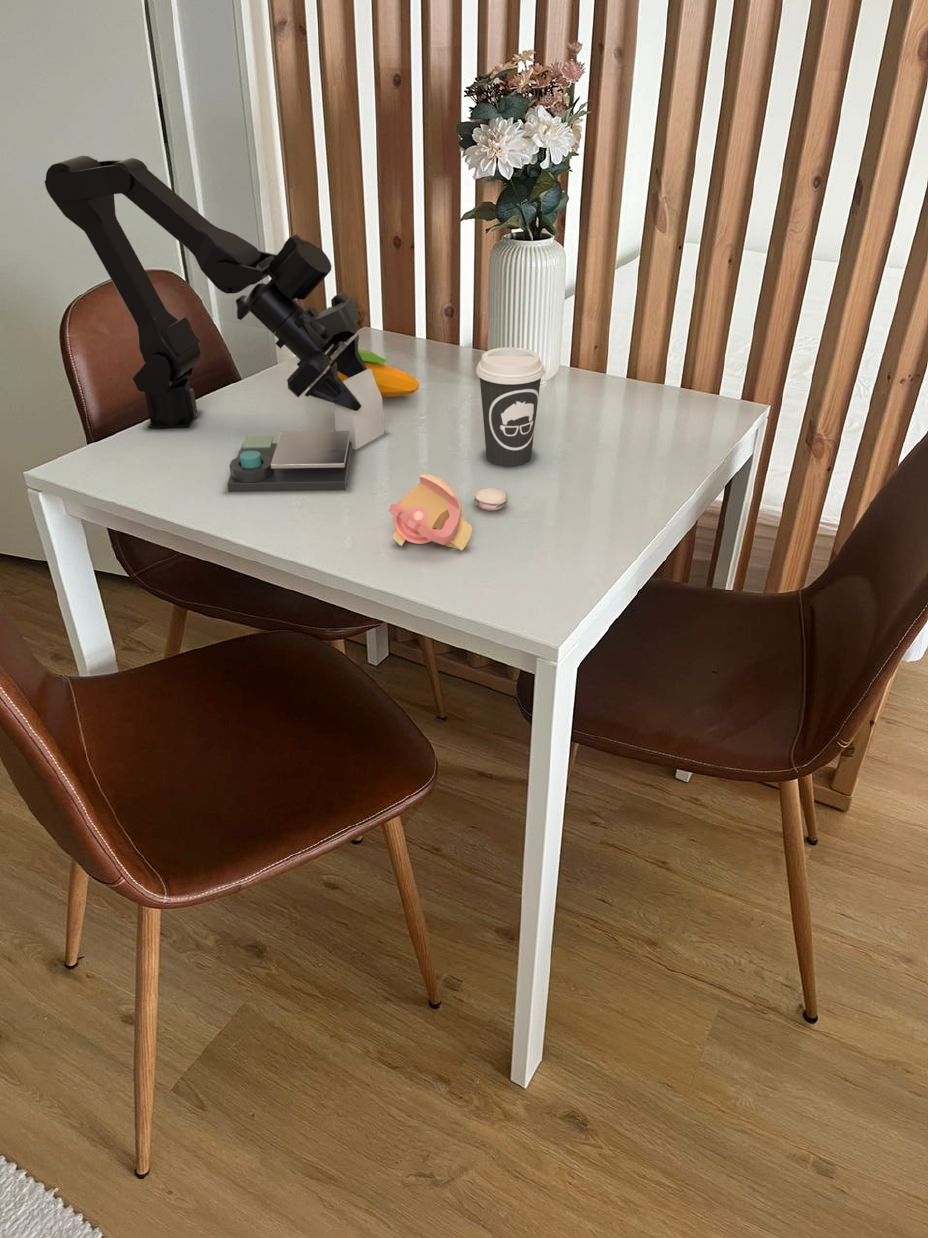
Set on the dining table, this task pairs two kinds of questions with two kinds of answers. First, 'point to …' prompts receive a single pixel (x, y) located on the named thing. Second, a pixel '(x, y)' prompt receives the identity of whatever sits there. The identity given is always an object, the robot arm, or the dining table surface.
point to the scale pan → (311, 449)
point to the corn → (387, 377)
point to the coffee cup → (509, 403)
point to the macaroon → (490, 498)
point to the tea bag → (361, 410)
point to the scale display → (258, 442)
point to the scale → (285, 475)
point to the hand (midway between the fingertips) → (366, 398)
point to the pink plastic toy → (430, 515)
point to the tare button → (250, 459)
